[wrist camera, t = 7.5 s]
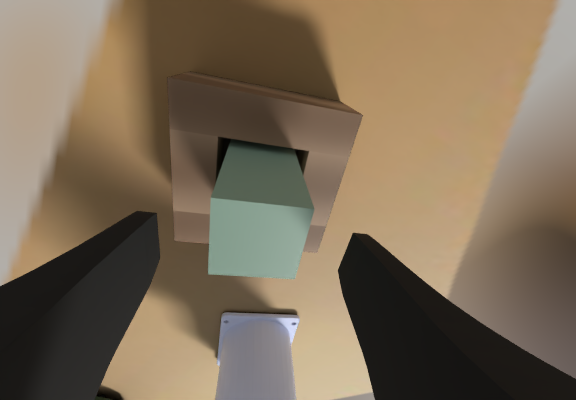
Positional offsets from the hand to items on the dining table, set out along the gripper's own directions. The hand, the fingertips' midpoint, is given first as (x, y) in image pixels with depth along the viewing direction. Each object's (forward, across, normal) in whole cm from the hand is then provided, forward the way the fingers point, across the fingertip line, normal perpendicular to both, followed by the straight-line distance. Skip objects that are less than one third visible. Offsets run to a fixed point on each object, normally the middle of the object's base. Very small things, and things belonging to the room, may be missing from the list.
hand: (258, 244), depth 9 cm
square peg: (+8, 0, 0) cm, 8 cm away
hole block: (+9, 0, 0) cm, 9 cm away
